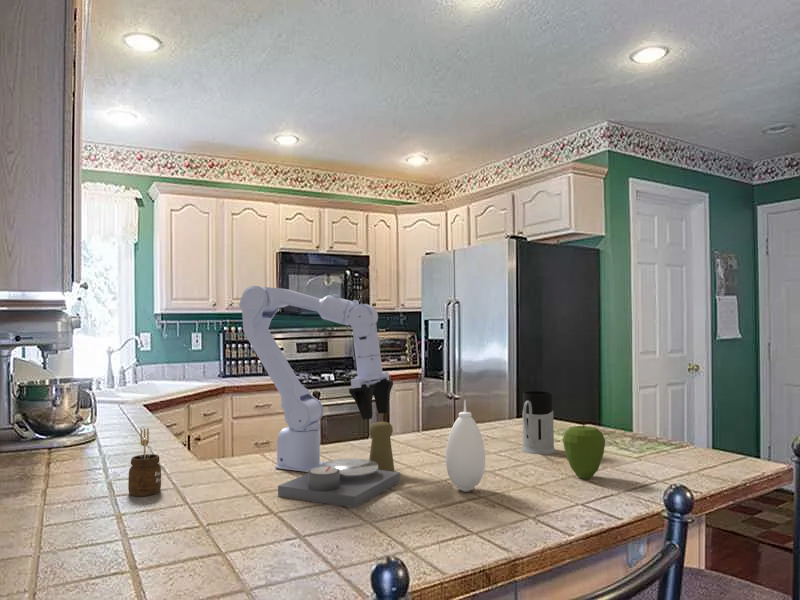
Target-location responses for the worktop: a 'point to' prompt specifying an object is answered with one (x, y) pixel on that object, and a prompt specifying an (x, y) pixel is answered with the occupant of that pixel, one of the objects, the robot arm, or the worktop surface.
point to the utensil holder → (144, 471)
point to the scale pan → (353, 467)
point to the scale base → (337, 486)
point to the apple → (584, 450)
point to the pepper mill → (381, 445)
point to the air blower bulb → (465, 453)
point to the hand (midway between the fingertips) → (375, 416)
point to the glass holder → (538, 423)
